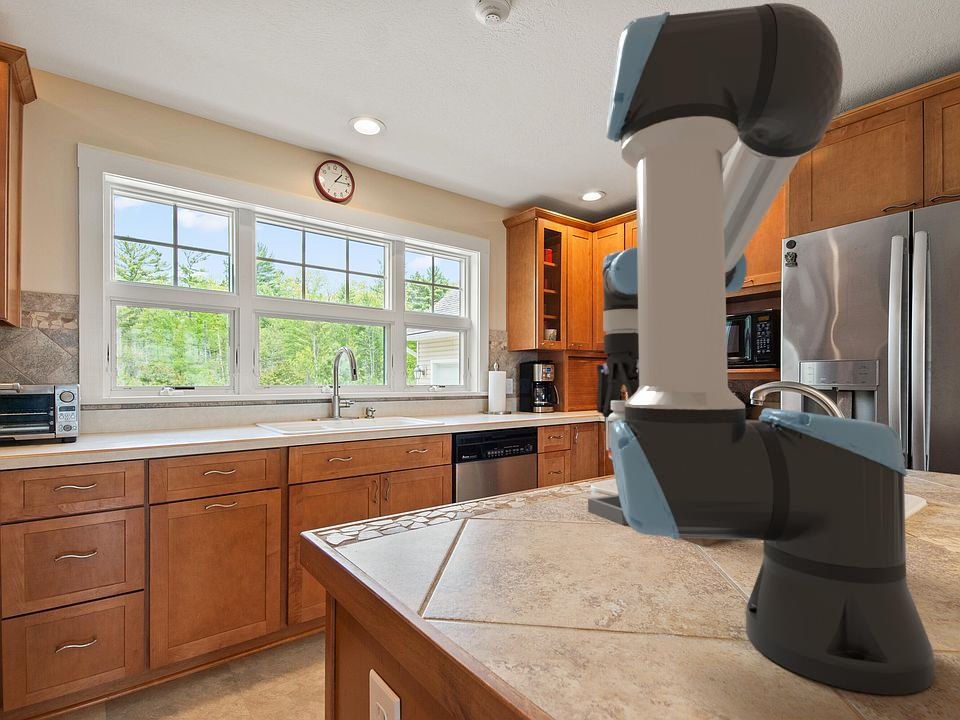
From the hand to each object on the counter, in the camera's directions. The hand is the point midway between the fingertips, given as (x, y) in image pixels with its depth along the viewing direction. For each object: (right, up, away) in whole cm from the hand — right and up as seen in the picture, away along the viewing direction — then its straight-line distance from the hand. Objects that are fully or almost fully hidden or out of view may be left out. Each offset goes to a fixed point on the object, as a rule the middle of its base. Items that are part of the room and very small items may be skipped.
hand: (624, 451), depth 100 cm
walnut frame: (+10, -12, -11) cm, 19 cm away
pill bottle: (0, -2, 0) cm, 2 cm away
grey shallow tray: (+4, -12, +2) cm, 13 cm away
